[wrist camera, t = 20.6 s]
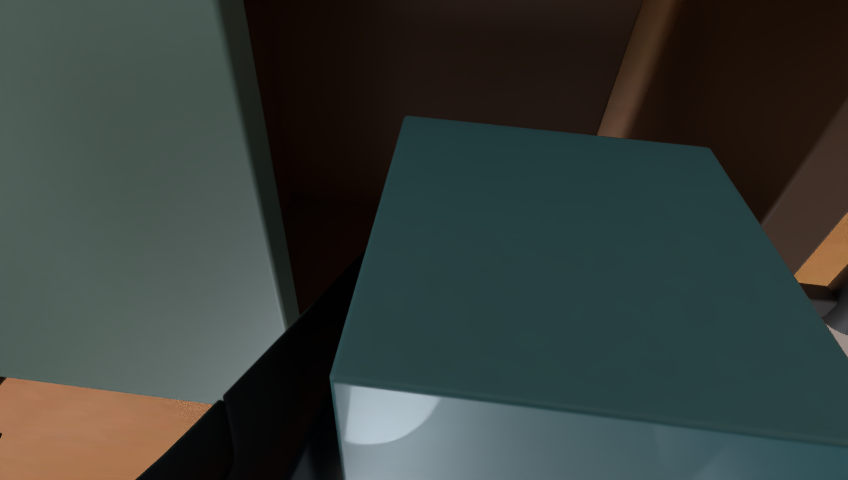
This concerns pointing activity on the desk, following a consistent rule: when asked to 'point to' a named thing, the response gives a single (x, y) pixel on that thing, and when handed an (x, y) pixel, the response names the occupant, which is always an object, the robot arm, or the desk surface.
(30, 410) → the desk surface
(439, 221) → the block
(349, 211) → the drawer
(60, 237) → the cabinet
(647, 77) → the desk surface
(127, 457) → the desk surface
